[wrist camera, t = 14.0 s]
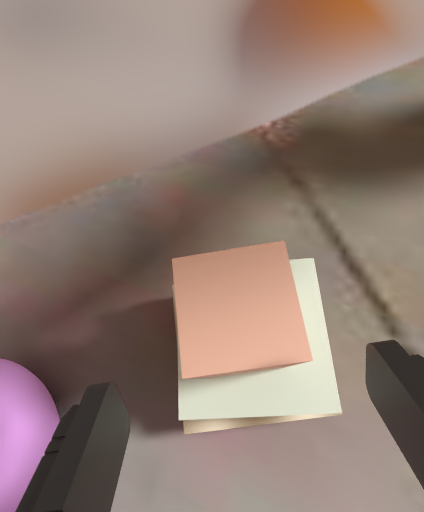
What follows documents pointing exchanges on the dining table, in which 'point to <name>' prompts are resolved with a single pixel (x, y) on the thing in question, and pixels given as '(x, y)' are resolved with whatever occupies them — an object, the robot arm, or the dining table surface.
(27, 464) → the teapot
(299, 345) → the terracotta block
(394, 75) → the dining table surface
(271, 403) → the tower top block
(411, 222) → the dining table surface
